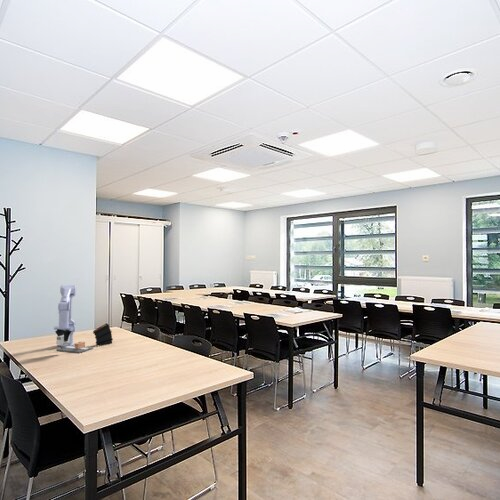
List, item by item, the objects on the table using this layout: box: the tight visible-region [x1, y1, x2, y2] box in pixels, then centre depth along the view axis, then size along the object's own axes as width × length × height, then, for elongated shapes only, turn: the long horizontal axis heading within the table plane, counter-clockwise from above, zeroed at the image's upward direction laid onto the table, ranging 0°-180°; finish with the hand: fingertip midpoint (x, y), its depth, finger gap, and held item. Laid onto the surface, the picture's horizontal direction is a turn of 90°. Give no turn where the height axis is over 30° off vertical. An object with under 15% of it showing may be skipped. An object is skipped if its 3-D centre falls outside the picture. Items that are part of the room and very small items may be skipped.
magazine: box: [92, 323, 114, 346], centre depth 263 cm, size 4×13×15 cm, turn 133°
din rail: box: [56, 344, 94, 354], centre depth 245 cm, size 20×12×3 cm, turn 71°
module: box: [55, 335, 70, 345], centre depth 235 cm, size 4×7×5 cm, turn 161°
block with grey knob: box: [74, 341, 86, 349], centre depth 244 cm, size 3×6×4 cm, turn 161°
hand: (63, 341), depth 235 cm, fingers closed on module, 4 cm apart
